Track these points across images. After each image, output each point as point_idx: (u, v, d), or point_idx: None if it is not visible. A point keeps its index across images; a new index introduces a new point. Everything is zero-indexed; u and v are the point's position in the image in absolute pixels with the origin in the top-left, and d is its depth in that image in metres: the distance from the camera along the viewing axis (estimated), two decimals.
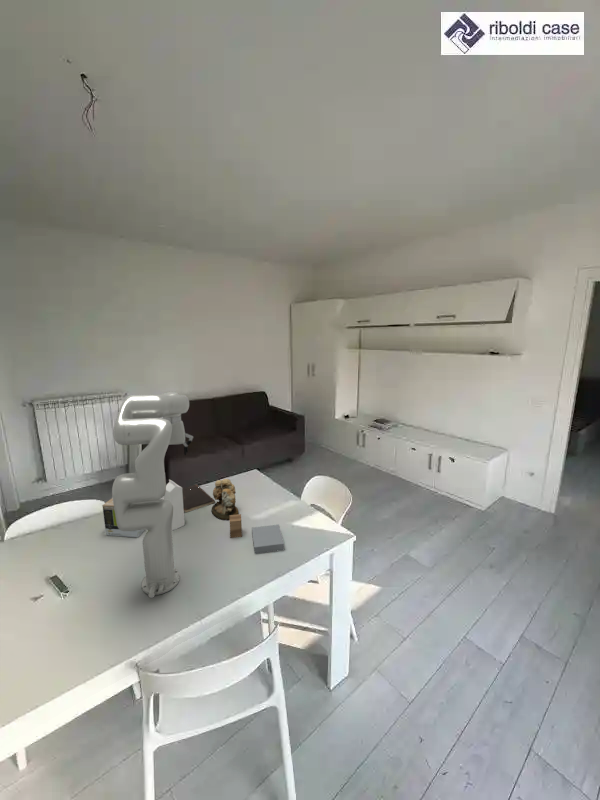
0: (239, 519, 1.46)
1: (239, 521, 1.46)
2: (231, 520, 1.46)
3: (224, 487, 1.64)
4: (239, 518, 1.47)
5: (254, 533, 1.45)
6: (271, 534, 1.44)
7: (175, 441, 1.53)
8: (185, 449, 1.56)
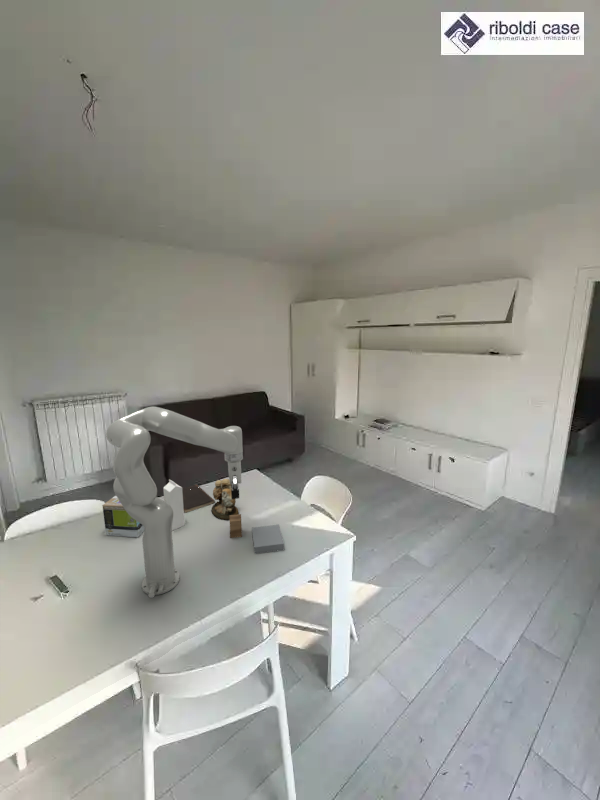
0: (239, 519, 1.46)
1: (239, 521, 1.46)
2: (231, 520, 1.46)
3: (224, 487, 1.64)
4: (239, 518, 1.47)
5: (254, 533, 1.45)
6: (271, 534, 1.44)
7: None
8: None
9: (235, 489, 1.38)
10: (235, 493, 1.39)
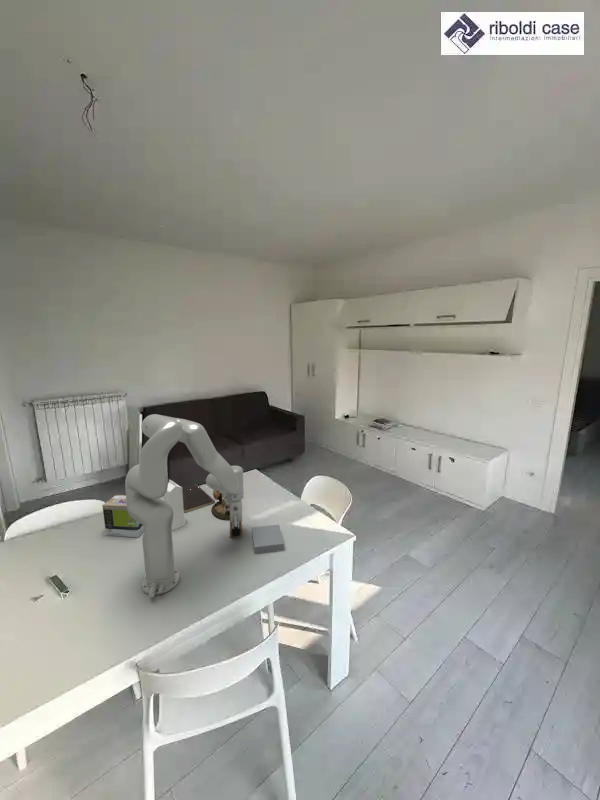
0: None
1: None
2: None
3: None
4: None
5: (254, 533, 1.45)
6: (271, 534, 1.44)
7: None
8: None
9: (236, 528, 1.44)
10: (236, 531, 1.45)
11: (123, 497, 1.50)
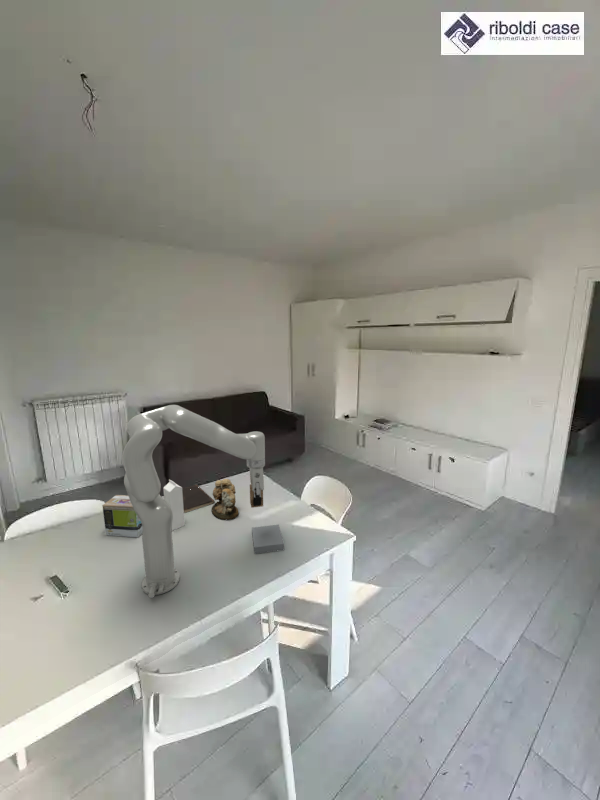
0: (260, 488, 1.40)
1: (260, 489, 1.39)
2: None
3: (224, 487, 1.64)
4: None
5: (254, 533, 1.45)
6: (271, 534, 1.44)
7: None
8: None
9: (257, 496, 1.37)
10: (257, 500, 1.38)
11: (123, 497, 1.50)
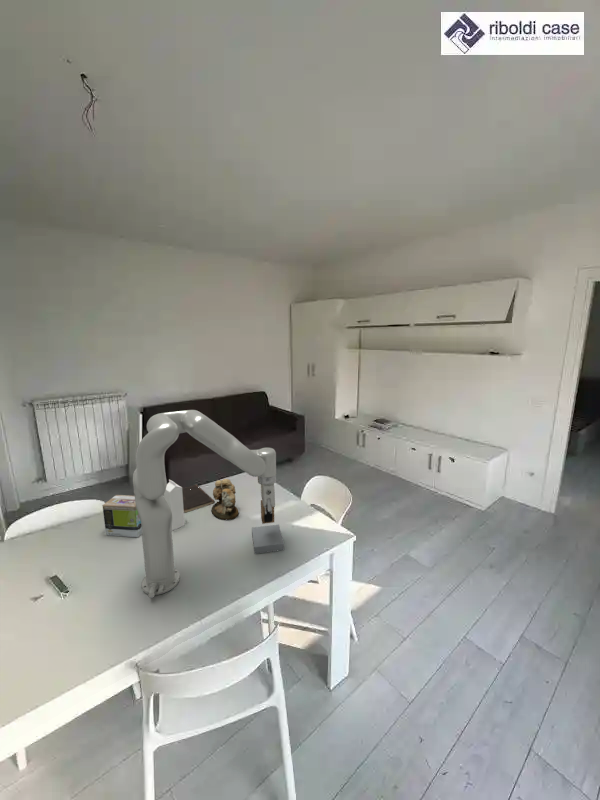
0: None
1: None
2: None
3: (224, 487, 1.64)
4: None
5: (254, 533, 1.45)
6: (271, 534, 1.44)
7: None
8: None
9: (269, 513, 1.37)
10: (268, 516, 1.38)
11: (123, 497, 1.50)
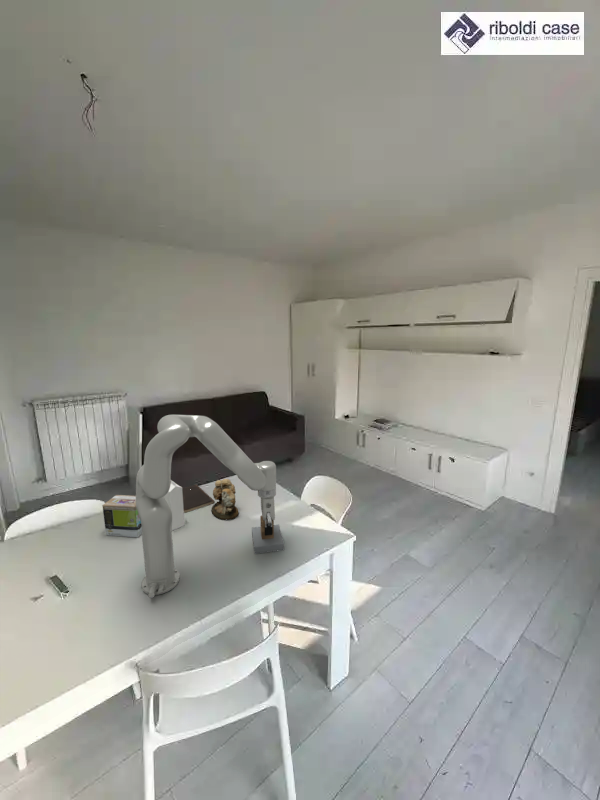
0: None
1: None
2: (263, 521, 1.40)
3: (224, 487, 1.64)
4: None
5: (254, 533, 1.45)
6: None
7: None
8: None
9: (269, 526, 1.36)
10: (269, 530, 1.37)
11: (123, 497, 1.50)
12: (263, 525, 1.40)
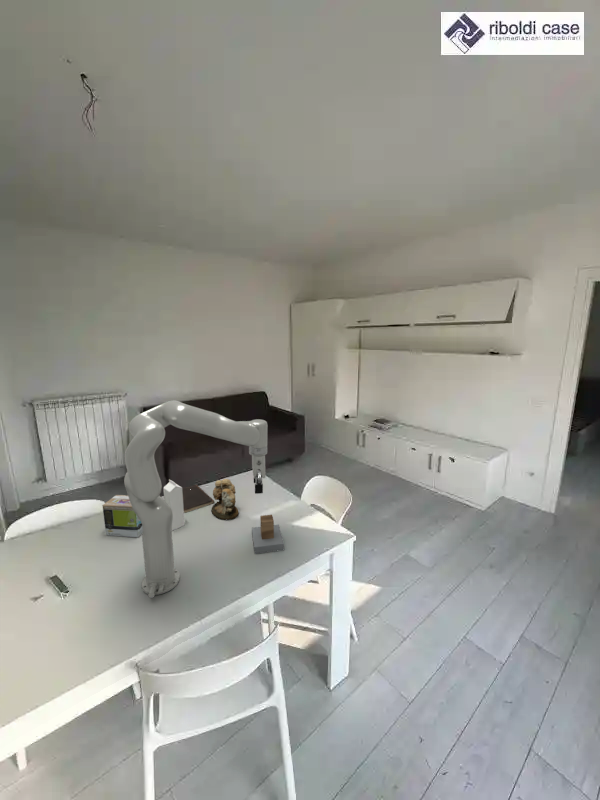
0: (271, 520, 1.41)
1: (271, 522, 1.40)
2: (263, 521, 1.40)
3: (224, 487, 1.64)
4: (271, 519, 1.42)
5: (254, 533, 1.45)
6: None
7: None
8: None
9: (259, 483, 1.35)
10: (259, 488, 1.37)
11: (123, 497, 1.50)
12: (263, 525, 1.40)
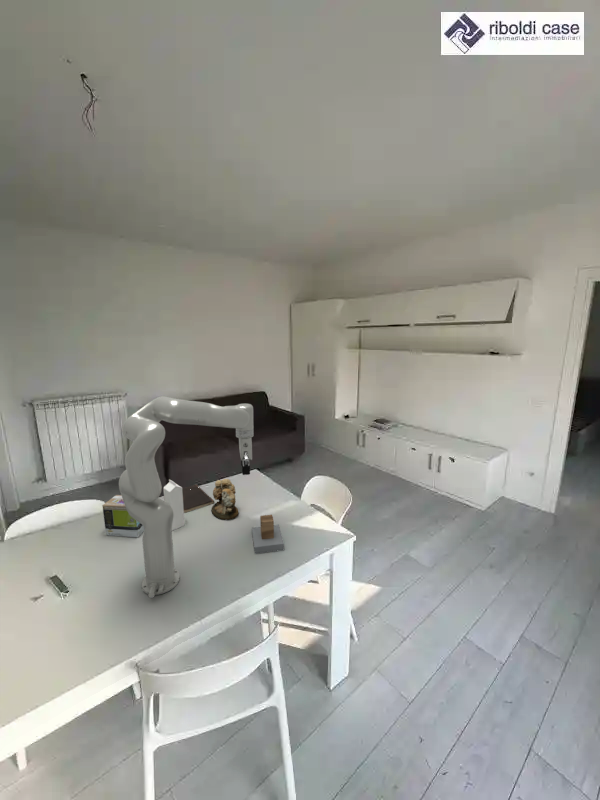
0: (271, 520, 1.41)
1: (271, 522, 1.40)
2: (263, 521, 1.40)
3: (224, 487, 1.64)
4: (271, 519, 1.42)
5: (254, 533, 1.45)
6: None
7: None
8: None
9: (246, 465, 1.41)
10: (246, 469, 1.42)
11: None
12: (263, 525, 1.40)
